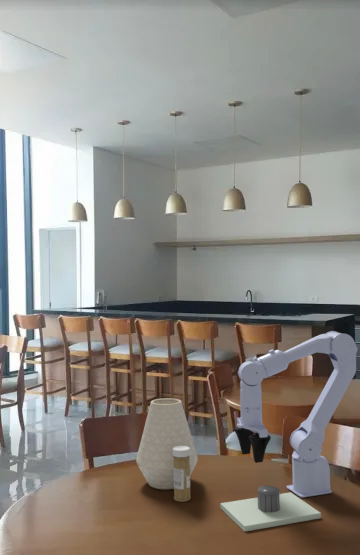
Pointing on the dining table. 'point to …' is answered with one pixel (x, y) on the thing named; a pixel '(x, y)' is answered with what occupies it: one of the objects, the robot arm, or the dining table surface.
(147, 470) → the vase
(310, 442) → the robot arm
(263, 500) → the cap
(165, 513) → the dining table surface
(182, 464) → the sprinkles bottle
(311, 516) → the post board
